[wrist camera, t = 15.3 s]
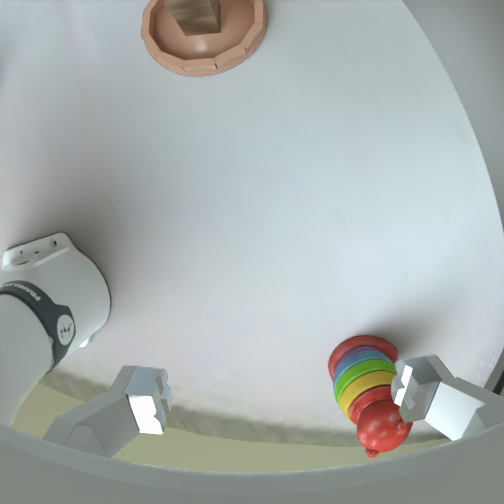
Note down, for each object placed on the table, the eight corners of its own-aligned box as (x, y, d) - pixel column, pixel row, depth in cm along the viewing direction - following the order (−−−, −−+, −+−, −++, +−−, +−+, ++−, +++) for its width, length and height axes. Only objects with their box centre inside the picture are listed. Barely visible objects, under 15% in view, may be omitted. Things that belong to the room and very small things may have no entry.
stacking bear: (354, 395, 47) (381, 477, 30) (310, 369, 46) (329, 460, 29) (401, 351, 45) (448, 426, 28) (360, 319, 43) (404, 400, 26)
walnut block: (185, 36, 32) (164, 3, 23) (186, 9, 31) (167, -28, 22) (220, 32, 32) (208, -3, 23) (220, 5, 31) (209, -34, 21)
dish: (142, 83, 35) (134, 78, 32) (150, -14, 30) (144, -23, 28) (267, 74, 34) (268, 67, 32) (265, -25, 30) (265, -35, 27)
